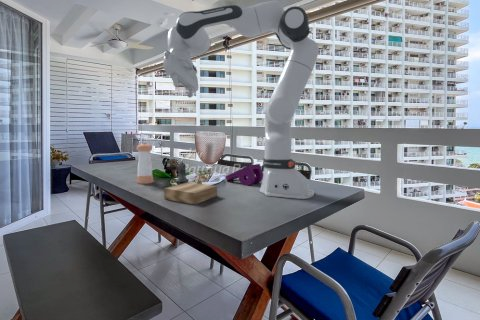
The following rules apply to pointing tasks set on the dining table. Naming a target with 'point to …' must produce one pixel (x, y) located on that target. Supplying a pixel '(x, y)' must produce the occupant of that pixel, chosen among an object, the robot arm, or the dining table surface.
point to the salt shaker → (144, 164)
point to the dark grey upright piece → (182, 175)
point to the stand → (190, 192)
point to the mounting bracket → (247, 175)
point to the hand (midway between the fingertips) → (183, 91)
